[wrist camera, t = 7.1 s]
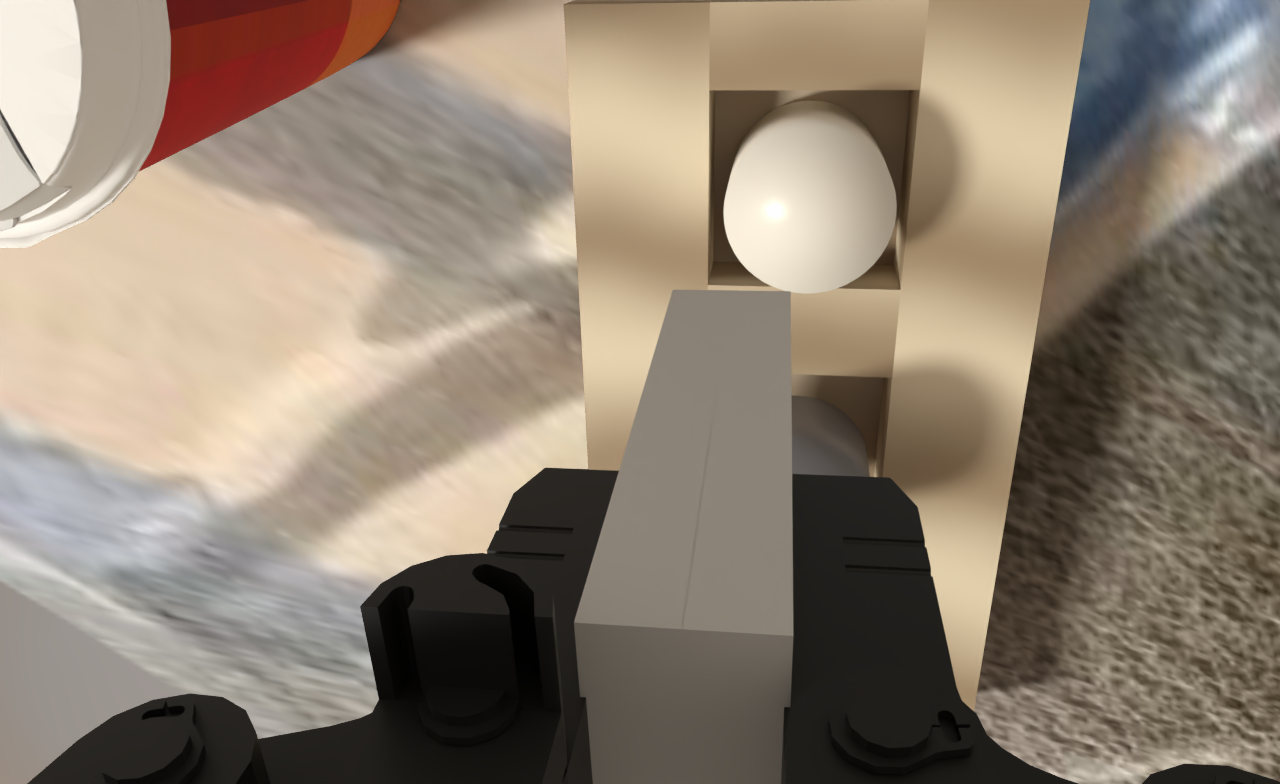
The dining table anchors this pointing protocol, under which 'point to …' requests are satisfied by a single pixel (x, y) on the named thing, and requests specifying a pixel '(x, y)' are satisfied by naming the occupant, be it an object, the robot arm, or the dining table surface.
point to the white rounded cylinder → (809, 198)
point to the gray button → (825, 440)
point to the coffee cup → (146, 88)
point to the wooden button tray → (902, 276)
